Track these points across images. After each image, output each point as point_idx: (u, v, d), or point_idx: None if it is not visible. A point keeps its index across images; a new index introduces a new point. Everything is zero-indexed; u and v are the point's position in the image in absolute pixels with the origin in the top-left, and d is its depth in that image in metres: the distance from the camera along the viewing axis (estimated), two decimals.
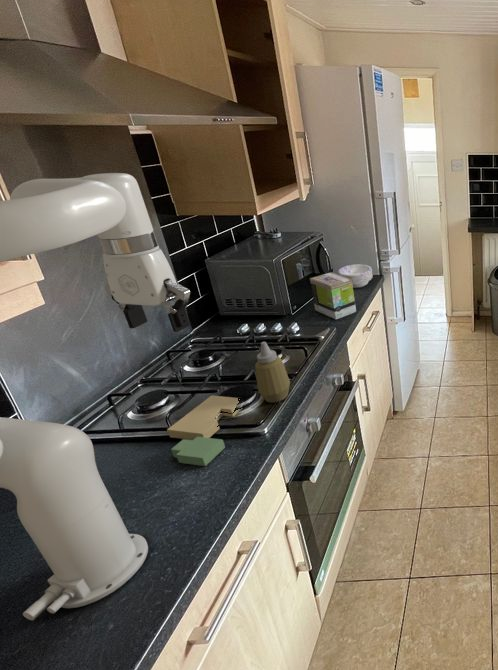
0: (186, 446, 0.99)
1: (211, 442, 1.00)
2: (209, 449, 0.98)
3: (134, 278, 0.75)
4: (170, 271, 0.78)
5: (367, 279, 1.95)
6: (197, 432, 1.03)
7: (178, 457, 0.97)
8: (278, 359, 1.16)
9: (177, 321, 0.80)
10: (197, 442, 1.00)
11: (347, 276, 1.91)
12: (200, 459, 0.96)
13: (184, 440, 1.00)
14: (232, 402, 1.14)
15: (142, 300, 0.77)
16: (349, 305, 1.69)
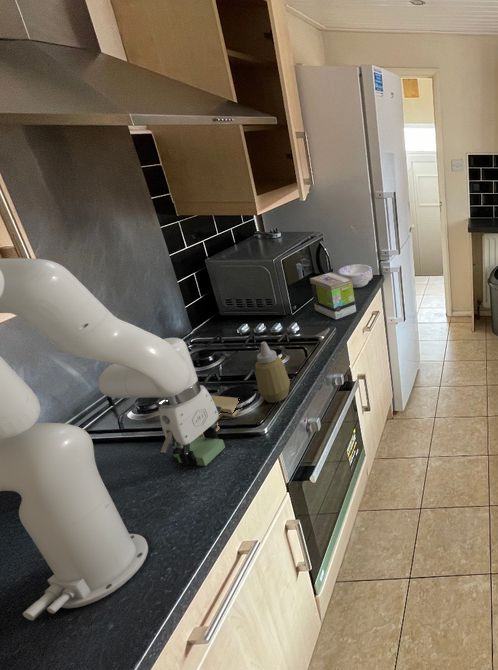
0: None
1: (211, 442, 1.00)
2: (209, 449, 0.98)
3: (204, 408, 0.96)
4: None
5: (367, 279, 1.95)
6: None
7: (178, 457, 0.97)
8: (278, 359, 1.16)
9: None
10: (197, 442, 1.00)
11: (347, 276, 1.91)
12: (200, 459, 0.96)
13: None
14: (232, 402, 1.14)
15: (209, 423, 0.98)
16: (349, 305, 1.69)
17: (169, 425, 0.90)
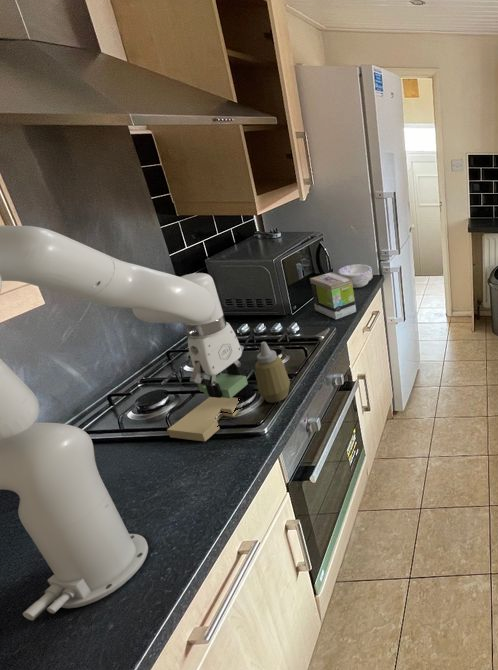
0: None
1: (235, 378, 1.05)
2: (233, 383, 1.03)
3: (229, 343, 1.01)
4: None
5: (367, 279, 1.95)
6: (197, 432, 1.03)
7: (204, 390, 1.02)
8: (278, 359, 1.16)
9: None
10: (221, 378, 1.05)
11: (347, 276, 1.91)
12: (226, 391, 1.01)
13: (209, 376, 1.06)
14: (232, 402, 1.14)
15: (233, 358, 1.03)
16: (349, 305, 1.69)
17: (197, 355, 0.95)
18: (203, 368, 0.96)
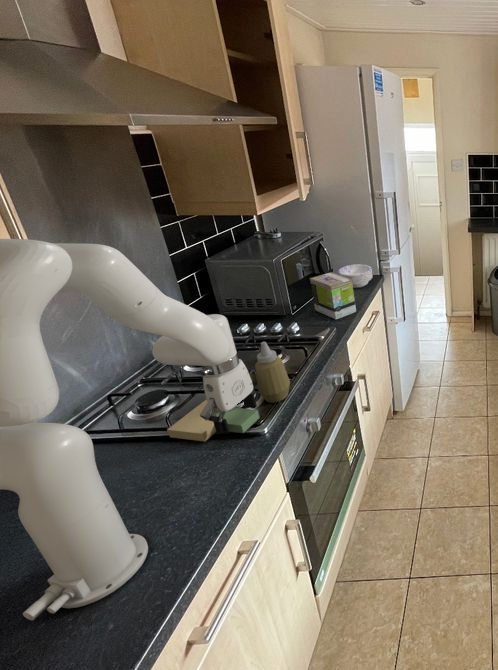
0: (225, 415, 1.09)
1: (247, 413, 1.10)
2: (246, 418, 1.08)
3: (241, 379, 1.06)
4: None
5: (367, 279, 1.95)
6: (197, 432, 1.03)
7: None
8: (278, 359, 1.16)
9: None
10: (234, 412, 1.10)
11: (347, 276, 1.91)
12: (239, 426, 1.06)
13: None
14: None
15: (245, 393, 1.07)
16: (349, 305, 1.69)
17: (212, 393, 1.00)
18: (217, 405, 1.01)
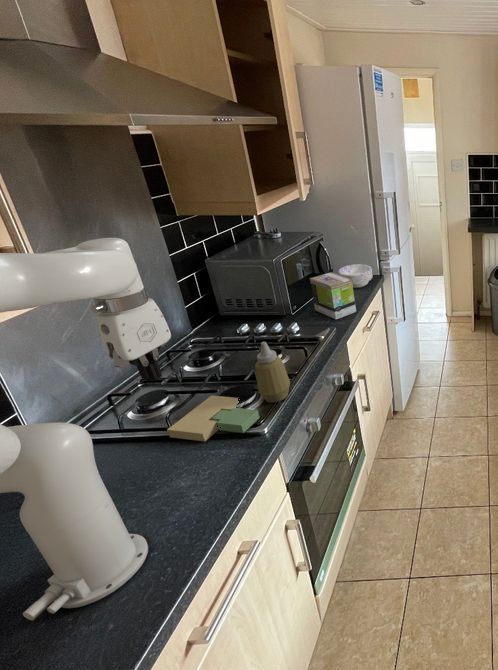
0: (225, 415, 1.09)
1: (247, 413, 1.10)
2: (246, 418, 1.08)
3: (152, 322, 0.86)
4: None
5: (367, 279, 1.95)
6: (197, 432, 1.03)
7: (219, 425, 1.07)
8: (278, 359, 1.16)
9: None
10: (234, 412, 1.10)
11: (347, 276, 1.91)
12: (239, 426, 1.06)
13: (223, 411, 1.11)
14: (232, 402, 1.14)
15: (159, 341, 0.87)
16: (349, 305, 1.69)
17: (109, 336, 0.80)
18: (117, 351, 0.81)
